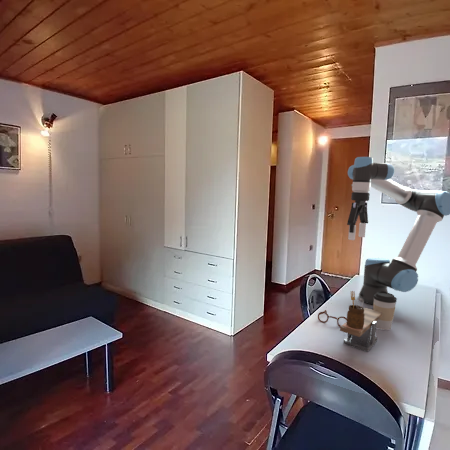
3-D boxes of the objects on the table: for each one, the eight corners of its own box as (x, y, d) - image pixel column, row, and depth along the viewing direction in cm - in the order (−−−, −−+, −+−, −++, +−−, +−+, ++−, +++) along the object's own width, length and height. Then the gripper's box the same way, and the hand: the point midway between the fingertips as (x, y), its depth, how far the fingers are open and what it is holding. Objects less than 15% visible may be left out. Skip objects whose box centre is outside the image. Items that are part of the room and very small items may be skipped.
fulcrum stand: (353, 333, 135) (355, 311, 134) (377, 341, 129) (380, 318, 128) (342, 343, 126) (344, 319, 125) (368, 352, 120) (370, 327, 119)
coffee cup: (396, 332, 138) (400, 298, 136) (373, 329, 139) (376, 295, 138) (390, 323, 146) (393, 291, 145) (368, 321, 148) (371, 289, 146)
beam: (364, 311, 139) (365, 307, 139) (382, 315, 135) (382, 312, 135) (339, 330, 118) (340, 326, 118) (359, 337, 114) (360, 332, 113)
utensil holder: (352, 329, 116) (355, 296, 114) (342, 322, 122) (345, 291, 120) (367, 328, 117) (370, 296, 116) (356, 321, 123) (359, 290, 122)
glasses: (317, 321, 146) (317, 311, 146) (325, 313, 157) (326, 303, 157) (347, 330, 139) (348, 318, 139) (354, 320, 150) (355, 309, 149)
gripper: (361, 191, 159) (357, 234, 162) (342, 191, 141) (338, 240, 143) (377, 192, 155) (373, 236, 157) (360, 192, 136) (355, 242, 138)
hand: (356, 238), depth 150 cm, fingers open, 13 cm apart
